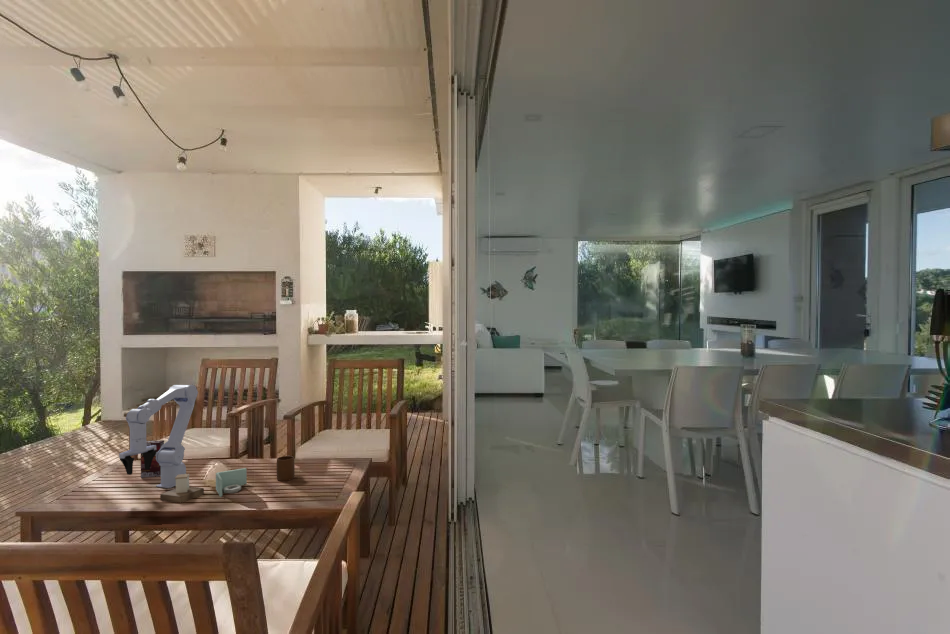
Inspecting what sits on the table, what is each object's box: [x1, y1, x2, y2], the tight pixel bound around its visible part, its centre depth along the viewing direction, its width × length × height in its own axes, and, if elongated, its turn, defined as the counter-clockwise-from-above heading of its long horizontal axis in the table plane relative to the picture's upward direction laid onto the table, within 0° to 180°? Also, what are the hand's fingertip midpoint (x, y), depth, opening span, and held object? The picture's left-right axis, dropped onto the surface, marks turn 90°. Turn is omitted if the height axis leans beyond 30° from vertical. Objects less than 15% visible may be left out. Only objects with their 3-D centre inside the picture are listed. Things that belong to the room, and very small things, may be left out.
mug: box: [276, 454, 296, 482], centre depth 238 cm, size 12×8×9 cm, turn 3°
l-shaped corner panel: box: [215, 467, 248, 498], centre depth 222 cm, size 12×12×8 cm
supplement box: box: [140, 439, 165, 478], centre depth 245 cm, size 9×5×16 cm, turn 100°
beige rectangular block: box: [175, 473, 191, 493], centre depth 213 cm, size 4×4×6 cm
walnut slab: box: [159, 485, 205, 504], centre depth 214 cm, size 11×11×3 cm
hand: (138, 471), depth 214 cm, fingers open, 7 cm apart
